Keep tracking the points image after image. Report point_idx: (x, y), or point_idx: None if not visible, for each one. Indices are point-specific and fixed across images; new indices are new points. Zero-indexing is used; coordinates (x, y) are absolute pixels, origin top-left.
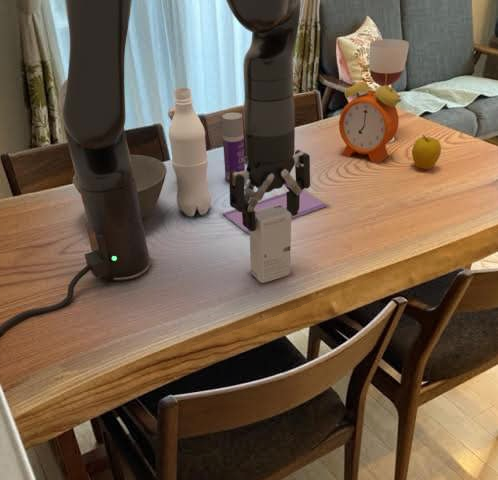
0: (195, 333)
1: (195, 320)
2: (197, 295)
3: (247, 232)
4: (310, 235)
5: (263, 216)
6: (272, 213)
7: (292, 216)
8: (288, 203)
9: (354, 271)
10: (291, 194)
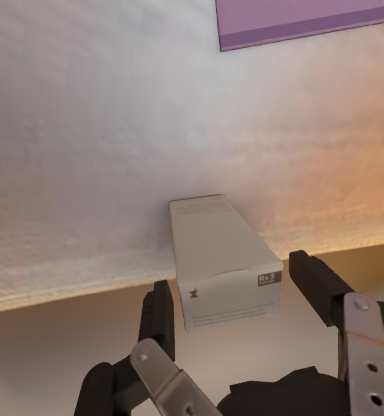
0: (53, 296)
1: (55, 275)
2: (64, 225)
3: (221, 47)
4: (326, 125)
5: (204, 315)
6: (234, 309)
7: (354, 22)
8: (306, 276)
9: (305, 248)
10: (331, 313)
